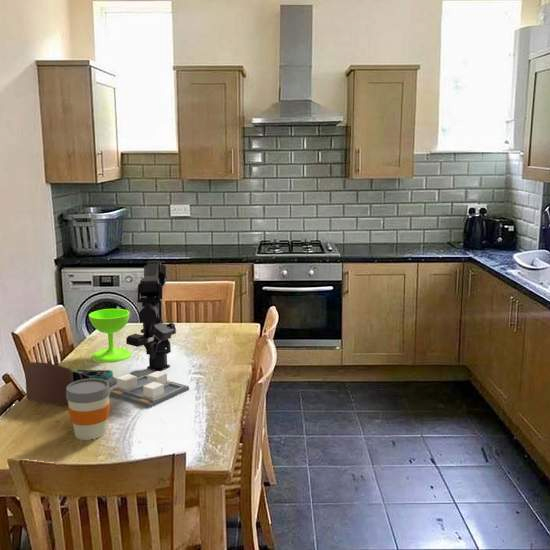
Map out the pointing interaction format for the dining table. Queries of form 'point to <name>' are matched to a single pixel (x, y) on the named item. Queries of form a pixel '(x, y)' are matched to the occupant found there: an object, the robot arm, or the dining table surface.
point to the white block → (127, 382)
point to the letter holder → (49, 382)
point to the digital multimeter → (97, 373)
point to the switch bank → (139, 398)
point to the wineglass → (110, 333)
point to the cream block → (157, 377)
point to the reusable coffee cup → (88, 407)
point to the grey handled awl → (111, 381)
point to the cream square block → (153, 390)
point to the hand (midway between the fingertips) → (152, 358)
